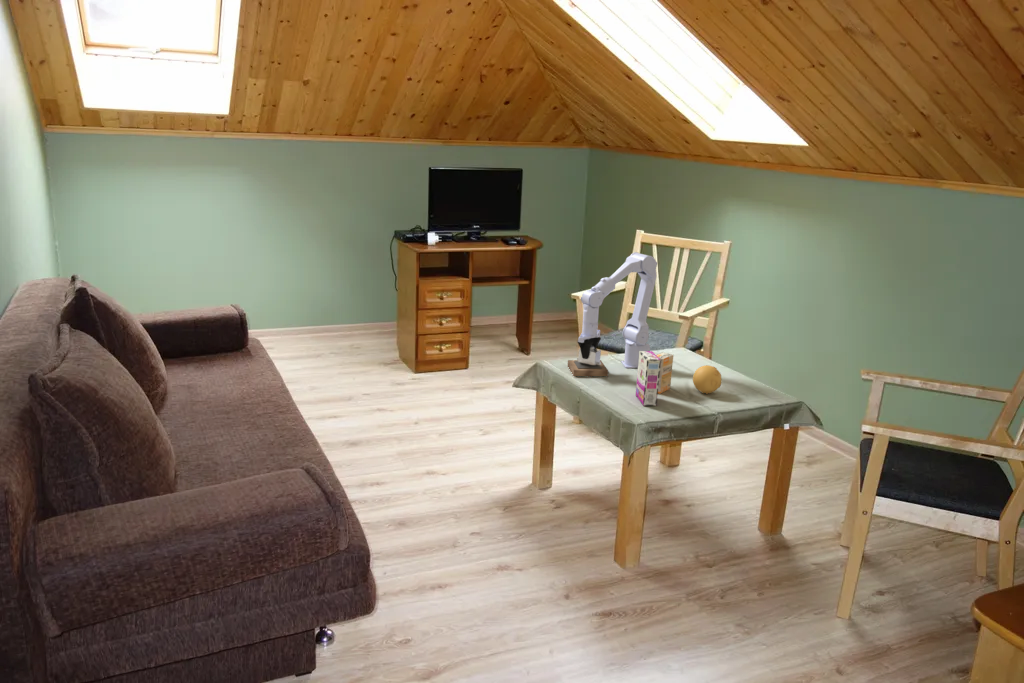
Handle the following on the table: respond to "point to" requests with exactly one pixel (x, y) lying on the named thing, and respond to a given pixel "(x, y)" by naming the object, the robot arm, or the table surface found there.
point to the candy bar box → (648, 378)
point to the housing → (591, 357)
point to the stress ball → (707, 379)
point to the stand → (587, 369)
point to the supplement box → (665, 371)
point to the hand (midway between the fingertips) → (588, 357)
